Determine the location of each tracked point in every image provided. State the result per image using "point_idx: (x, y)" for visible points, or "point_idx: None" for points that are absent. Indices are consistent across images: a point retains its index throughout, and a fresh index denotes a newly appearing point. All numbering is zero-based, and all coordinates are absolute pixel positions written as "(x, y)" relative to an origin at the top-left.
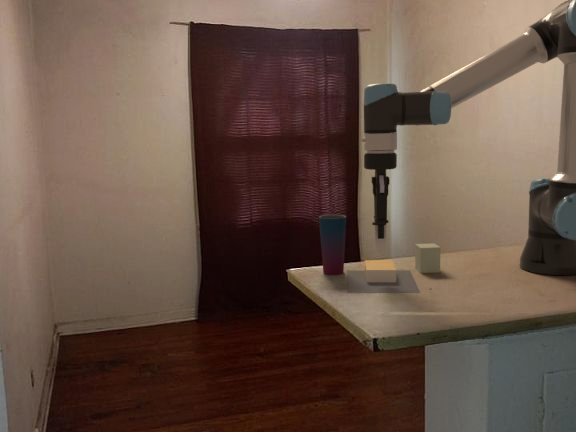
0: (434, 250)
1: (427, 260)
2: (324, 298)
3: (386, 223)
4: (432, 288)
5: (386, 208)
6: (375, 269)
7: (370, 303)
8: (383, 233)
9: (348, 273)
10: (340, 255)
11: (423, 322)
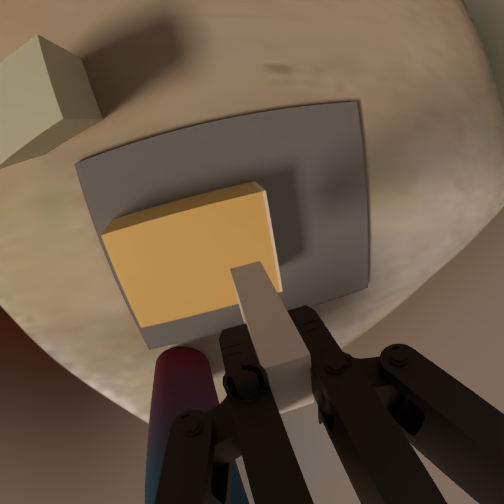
0: (49, 60)
1: (75, 92)
2: (382, 316)
3: (393, 345)
4: (273, 62)
5: (489, 408)
6: (271, 265)
7: (415, 221)
8: (322, 325)
9: (180, 338)
10: (204, 394)
11: (485, 119)
